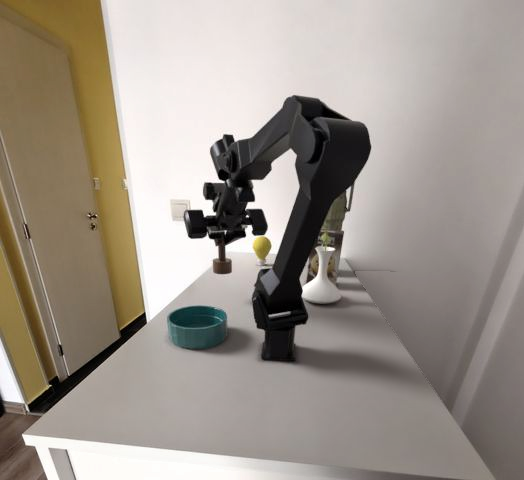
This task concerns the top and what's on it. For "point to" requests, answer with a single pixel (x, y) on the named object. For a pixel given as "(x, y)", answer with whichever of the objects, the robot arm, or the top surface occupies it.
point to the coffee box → (334, 260)
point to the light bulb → (261, 249)
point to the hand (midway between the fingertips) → (220, 244)
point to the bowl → (197, 326)
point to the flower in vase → (322, 278)
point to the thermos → (338, 211)
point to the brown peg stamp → (222, 259)
